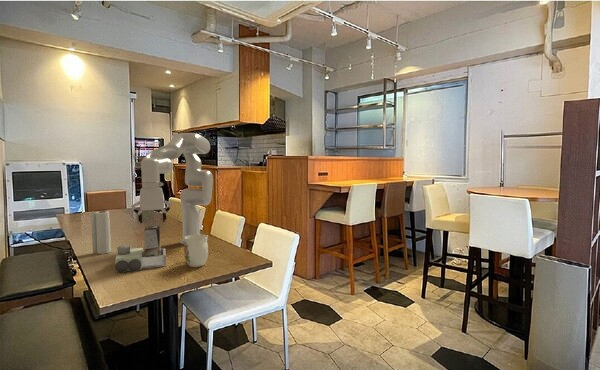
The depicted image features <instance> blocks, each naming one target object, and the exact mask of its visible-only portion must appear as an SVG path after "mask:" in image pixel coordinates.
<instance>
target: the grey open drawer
mask: <svg viewBox="0 0 600 370" xmlns="http://www.w3.org/2000/svg"><path fill="white" fill-rule="evenodd" d="M160 250H161V256H150V257H145V249H143V257H141V263H142V270H143V269H144V270H145V269H152V268H153V269H154V268H155V269H156V268H163V267H167V262H166V261H167V258H166V257H167V256H166V255H167V253H166V248H165V247H164V248H160Z"/></svg>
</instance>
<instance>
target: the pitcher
mask: <svg viewBox="0 0 600 370" xmlns="http://www.w3.org/2000/svg"><path fill="white" fill-rule="evenodd" d="M207 235H208V234H201V233H200V234H196V235H189V236H186V237H184V239H185V245H184V246H183V256H184V258H185V262H186V263H187V265H188V267H190V268H199V267H203V266H204V265H205V264H206V262H207V260H208V257H209V243H208V239H209V235H208V236H207Z"/></svg>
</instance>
